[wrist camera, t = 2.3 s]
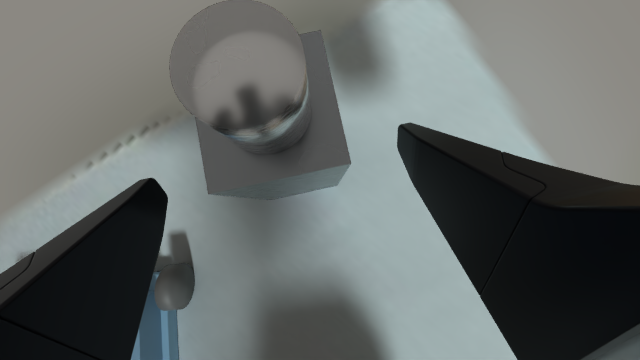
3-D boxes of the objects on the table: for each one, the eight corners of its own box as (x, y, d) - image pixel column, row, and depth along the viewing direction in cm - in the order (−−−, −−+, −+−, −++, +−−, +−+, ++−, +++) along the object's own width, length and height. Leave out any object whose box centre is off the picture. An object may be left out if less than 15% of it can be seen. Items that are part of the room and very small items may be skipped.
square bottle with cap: (336, 185, 19) (365, 141, 6) (270, 199, 19) (148, 188, 6) (322, 120, 19) (318, -54, 6) (257, 134, 19) (118, -12, 6)
